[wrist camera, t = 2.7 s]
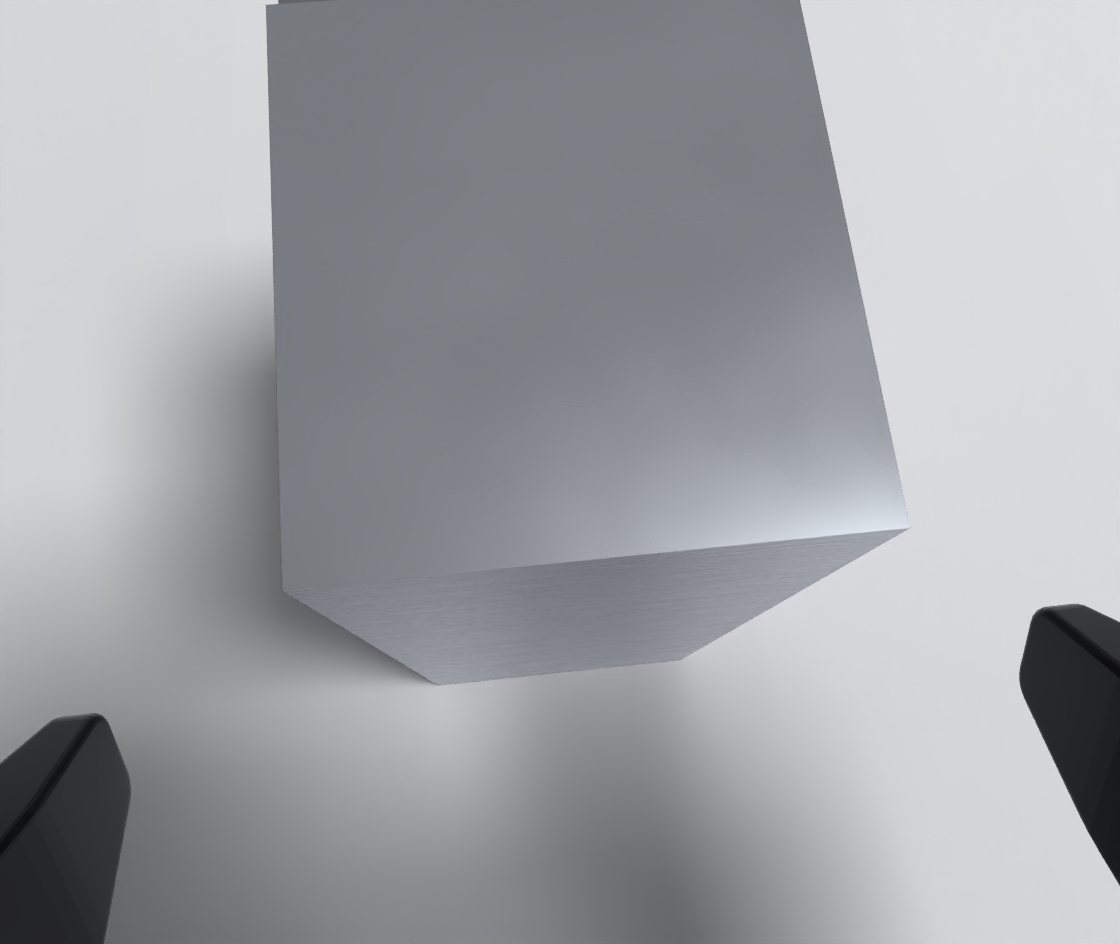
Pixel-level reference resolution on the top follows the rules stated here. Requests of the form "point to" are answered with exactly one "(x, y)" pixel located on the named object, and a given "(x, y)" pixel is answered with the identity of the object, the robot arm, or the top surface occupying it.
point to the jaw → (562, 328)
